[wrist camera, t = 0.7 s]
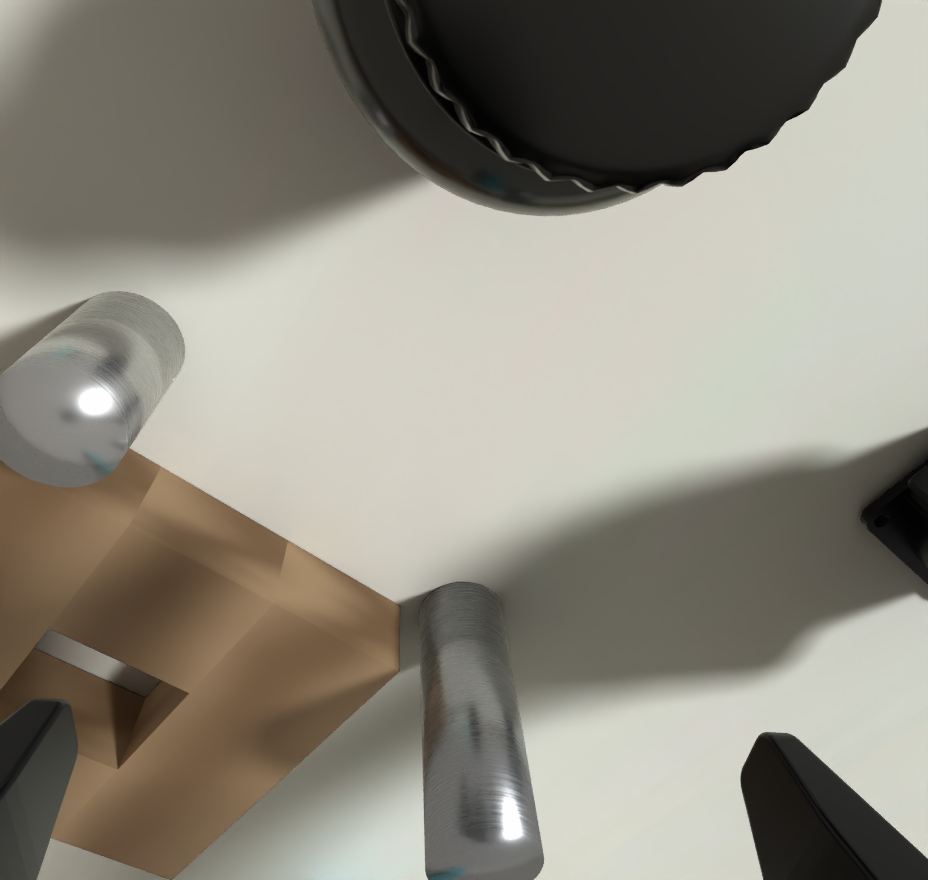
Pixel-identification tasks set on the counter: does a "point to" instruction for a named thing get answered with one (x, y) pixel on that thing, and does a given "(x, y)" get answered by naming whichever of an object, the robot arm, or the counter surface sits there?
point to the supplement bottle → (582, 88)
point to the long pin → (473, 743)
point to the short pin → (88, 389)
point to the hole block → (178, 653)
